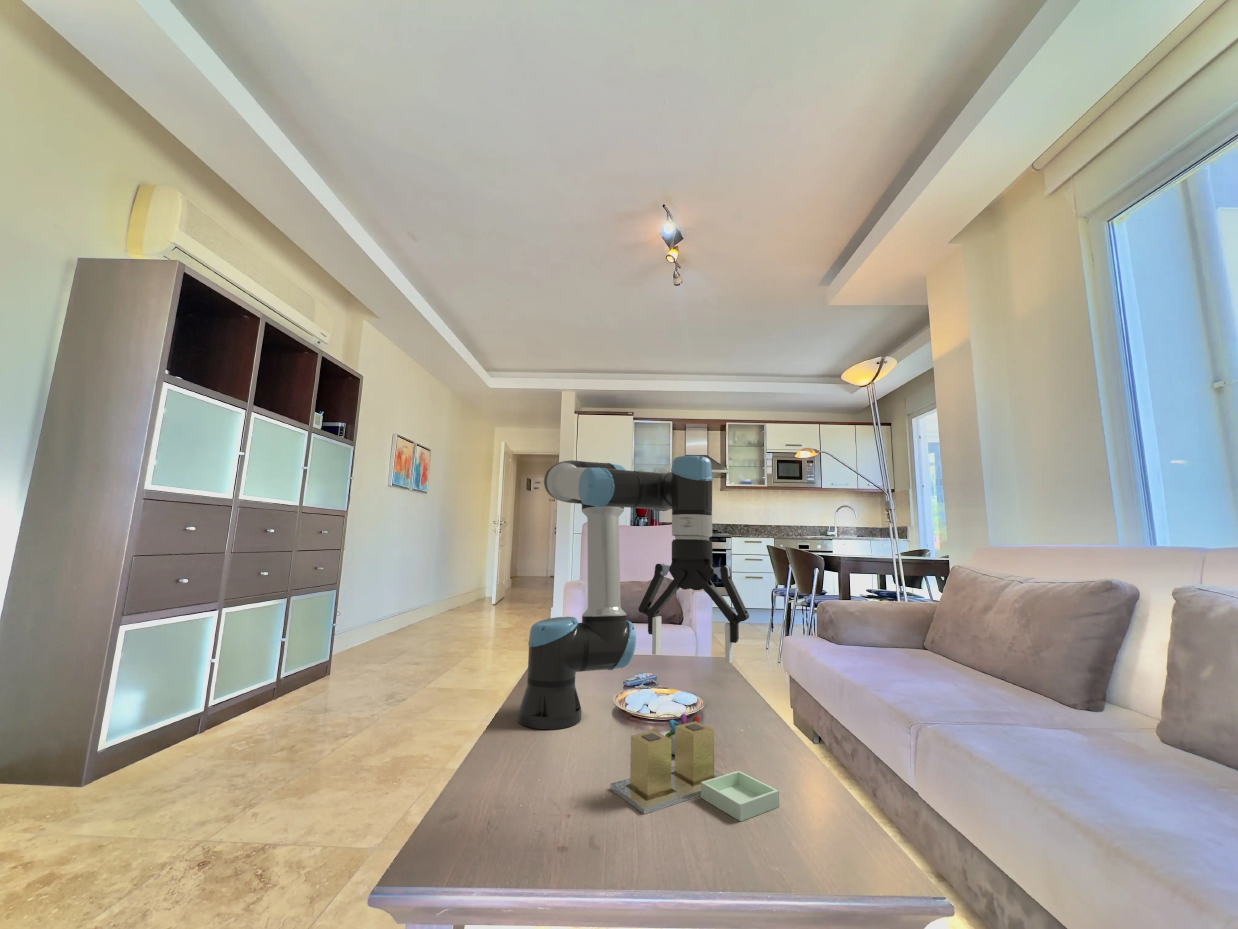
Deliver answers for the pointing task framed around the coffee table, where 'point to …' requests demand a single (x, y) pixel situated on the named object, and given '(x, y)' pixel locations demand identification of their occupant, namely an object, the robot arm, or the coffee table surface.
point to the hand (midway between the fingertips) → (691, 657)
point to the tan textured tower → (694, 753)
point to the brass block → (650, 765)
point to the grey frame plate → (678, 794)
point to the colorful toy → (672, 732)
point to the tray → (739, 795)
